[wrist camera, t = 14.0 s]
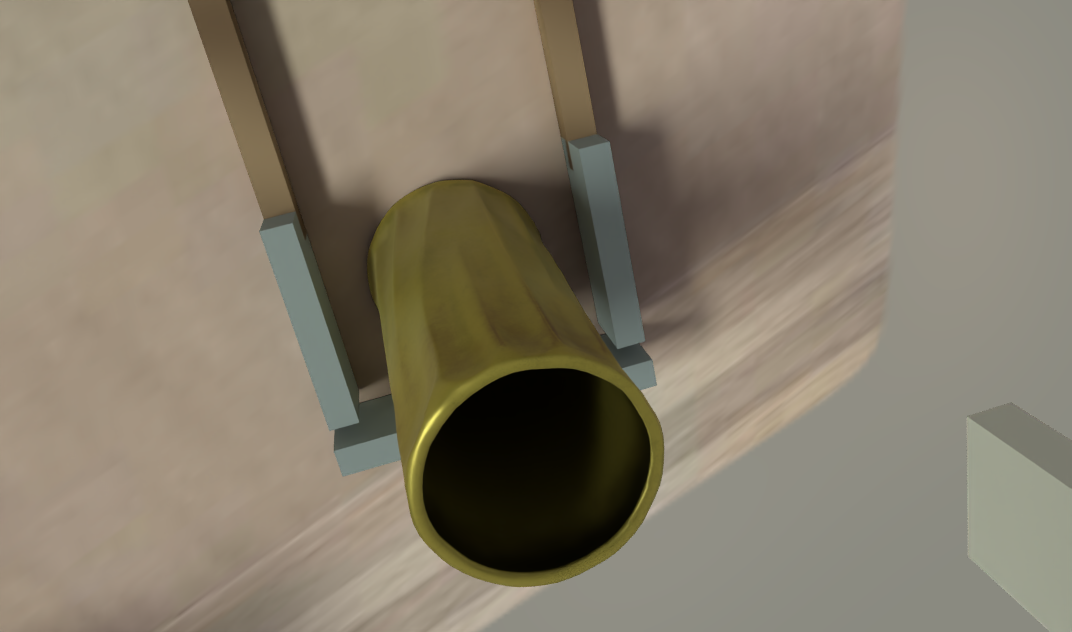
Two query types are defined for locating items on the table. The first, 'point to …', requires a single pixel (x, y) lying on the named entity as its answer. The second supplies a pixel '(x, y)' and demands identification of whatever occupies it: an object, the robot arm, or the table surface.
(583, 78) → the channel
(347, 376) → the socket
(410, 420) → the vase
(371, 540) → the table surface
